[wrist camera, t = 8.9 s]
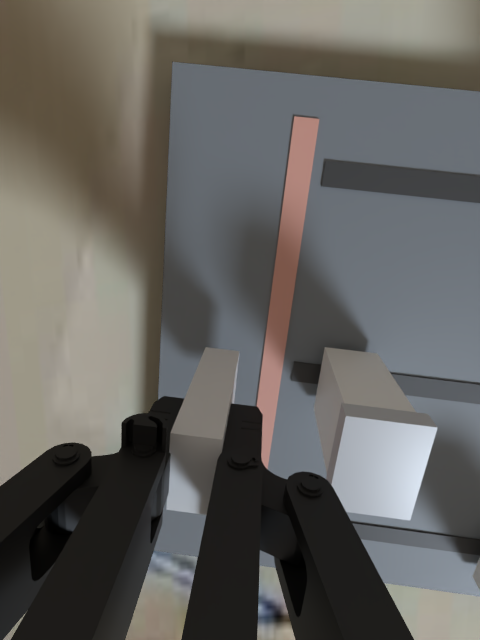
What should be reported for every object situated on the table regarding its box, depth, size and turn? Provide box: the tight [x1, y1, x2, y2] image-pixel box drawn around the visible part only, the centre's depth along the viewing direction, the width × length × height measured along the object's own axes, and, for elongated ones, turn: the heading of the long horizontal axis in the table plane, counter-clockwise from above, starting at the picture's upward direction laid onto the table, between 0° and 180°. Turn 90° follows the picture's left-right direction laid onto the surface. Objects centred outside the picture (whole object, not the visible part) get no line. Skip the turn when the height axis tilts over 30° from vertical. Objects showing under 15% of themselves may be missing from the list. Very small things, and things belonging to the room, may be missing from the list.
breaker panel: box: [154, 62, 480, 596], centre depth 20 cm, size 28×25×2 cm
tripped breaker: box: [314, 347, 438, 520], centre depth 16 cm, size 3×4×6 cm
